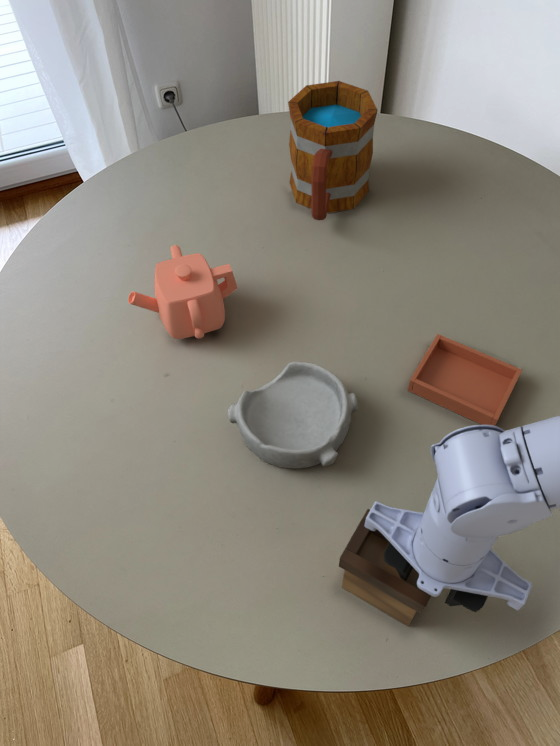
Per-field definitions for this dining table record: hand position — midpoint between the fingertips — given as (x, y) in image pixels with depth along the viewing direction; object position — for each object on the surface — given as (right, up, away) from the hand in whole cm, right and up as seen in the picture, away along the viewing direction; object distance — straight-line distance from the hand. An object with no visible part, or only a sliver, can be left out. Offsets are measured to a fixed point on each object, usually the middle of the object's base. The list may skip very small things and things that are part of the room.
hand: (429, 583), depth 63 cm
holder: (+10, +19, +22) cm, 31 cm away
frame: (-3, +1, +1) cm, 4 cm away
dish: (-12, +14, +20) cm, 27 cm away
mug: (-7, +49, +45) cm, 67 cm away
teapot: (-28, +29, +31) cm, 50 cm away
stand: (-3, -3, +8) cm, 9 cm away
